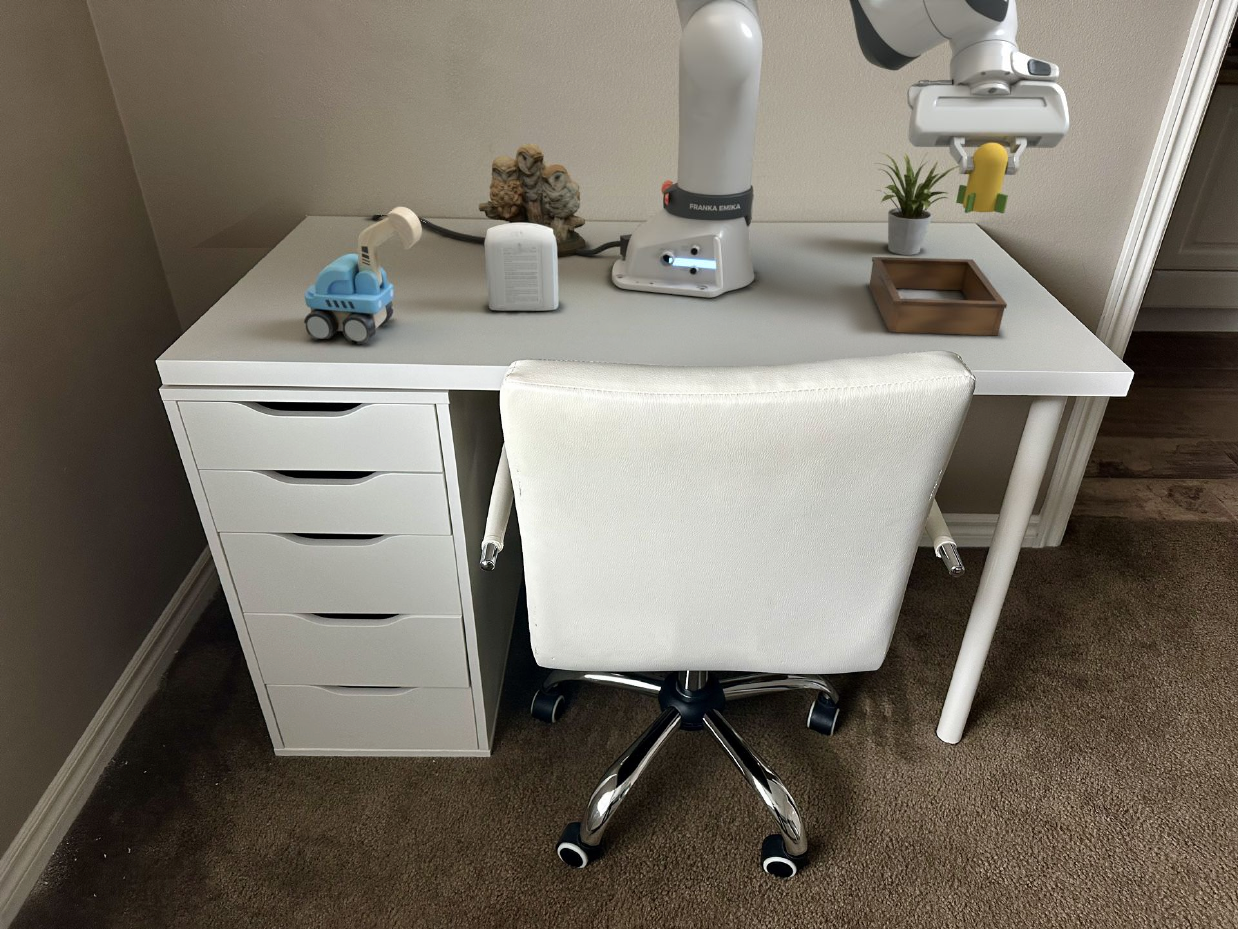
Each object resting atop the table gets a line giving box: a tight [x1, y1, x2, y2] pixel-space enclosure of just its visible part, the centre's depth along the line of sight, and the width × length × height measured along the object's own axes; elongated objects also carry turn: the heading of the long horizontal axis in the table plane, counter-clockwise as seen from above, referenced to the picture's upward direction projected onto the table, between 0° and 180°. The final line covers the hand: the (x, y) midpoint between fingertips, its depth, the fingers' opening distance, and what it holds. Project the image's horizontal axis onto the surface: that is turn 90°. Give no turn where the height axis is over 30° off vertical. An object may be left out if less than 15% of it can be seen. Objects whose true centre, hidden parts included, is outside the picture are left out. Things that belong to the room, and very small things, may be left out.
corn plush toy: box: [955, 143, 1009, 214], centre depth 117 cm, size 5×5×8 cm
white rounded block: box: [483, 222, 560, 311], centre depth 125 cm, size 10×4×12 cm, turn 92°
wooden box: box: [868, 256, 1008, 336], centre depth 126 cm, size 15×18×5 cm
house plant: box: [874, 151, 959, 256], centre depth 146 cm, size 14×14×16 cm
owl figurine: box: [478, 142, 587, 258], centre depth 147 cm, size 18×12×17 cm, turn 88°
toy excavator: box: [303, 206, 423, 345], centre depth 116 cm, size 9×17×17 cm, turn 80°
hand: (989, 172), depth 116 cm, fingers closed on corn plush toy, 4 cm apart
